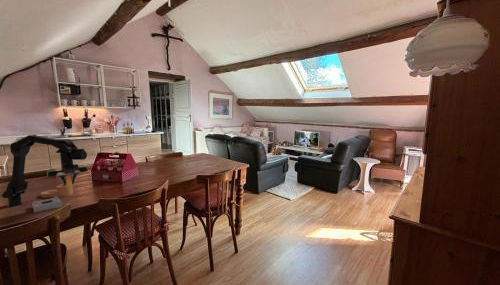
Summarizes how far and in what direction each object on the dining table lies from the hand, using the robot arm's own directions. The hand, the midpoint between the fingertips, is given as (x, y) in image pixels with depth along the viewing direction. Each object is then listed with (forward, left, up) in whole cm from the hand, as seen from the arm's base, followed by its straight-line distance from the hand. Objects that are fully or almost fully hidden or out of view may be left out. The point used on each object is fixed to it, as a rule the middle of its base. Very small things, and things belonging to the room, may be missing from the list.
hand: (69, 184), depth 138 cm
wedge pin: (0, 0, -2) cm, 2 cm away
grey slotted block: (-2, -11, -12) cm, 16 cm away
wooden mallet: (-24, -4, -12) cm, 27 cm away
